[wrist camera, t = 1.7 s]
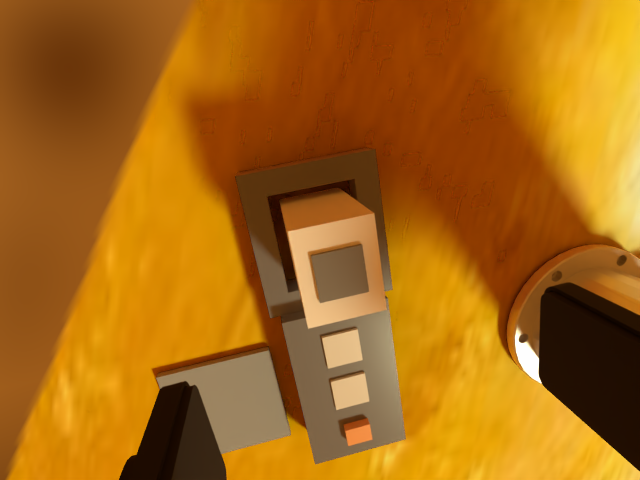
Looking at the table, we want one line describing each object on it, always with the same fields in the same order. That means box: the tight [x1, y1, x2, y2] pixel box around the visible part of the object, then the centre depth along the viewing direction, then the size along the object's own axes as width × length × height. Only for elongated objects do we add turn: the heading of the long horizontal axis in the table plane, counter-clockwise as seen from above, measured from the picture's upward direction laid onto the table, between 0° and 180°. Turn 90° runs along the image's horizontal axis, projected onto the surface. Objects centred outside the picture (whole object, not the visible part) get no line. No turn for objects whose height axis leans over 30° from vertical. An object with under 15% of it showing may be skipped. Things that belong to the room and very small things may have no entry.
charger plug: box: [279, 188, 387, 329], centre depth 20 cm, size 4×5×8 cm
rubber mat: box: [156, 346, 291, 454], centre depth 27 cm, size 8×8×1 cm
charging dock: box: [235, 148, 406, 464], centre depth 24 cm, size 8×21×4 cm, turn 10°
